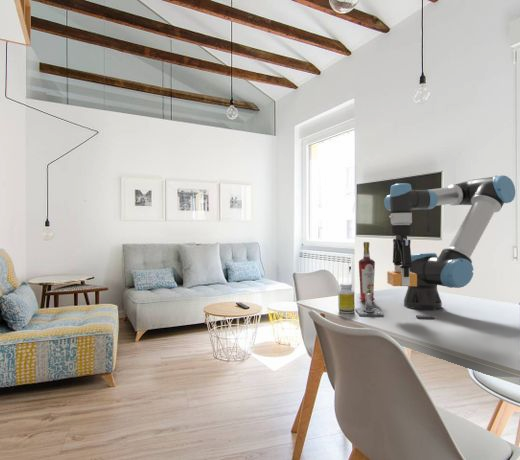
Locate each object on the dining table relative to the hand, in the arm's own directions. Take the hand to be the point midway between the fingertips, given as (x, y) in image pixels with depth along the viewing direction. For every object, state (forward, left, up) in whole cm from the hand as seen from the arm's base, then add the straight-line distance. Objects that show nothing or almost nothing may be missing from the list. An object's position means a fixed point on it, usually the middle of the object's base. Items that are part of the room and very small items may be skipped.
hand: (402, 283), depth 136 cm
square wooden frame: (0, 0, 0) cm, 0 cm away
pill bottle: (+20, -9, -13) cm, 25 cm away
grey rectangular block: (-8, 0, -13) cm, 15 cm away
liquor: (+7, -31, -13) cm, 34 cm away
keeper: (+11, -7, -13) cm, 18 cm away
